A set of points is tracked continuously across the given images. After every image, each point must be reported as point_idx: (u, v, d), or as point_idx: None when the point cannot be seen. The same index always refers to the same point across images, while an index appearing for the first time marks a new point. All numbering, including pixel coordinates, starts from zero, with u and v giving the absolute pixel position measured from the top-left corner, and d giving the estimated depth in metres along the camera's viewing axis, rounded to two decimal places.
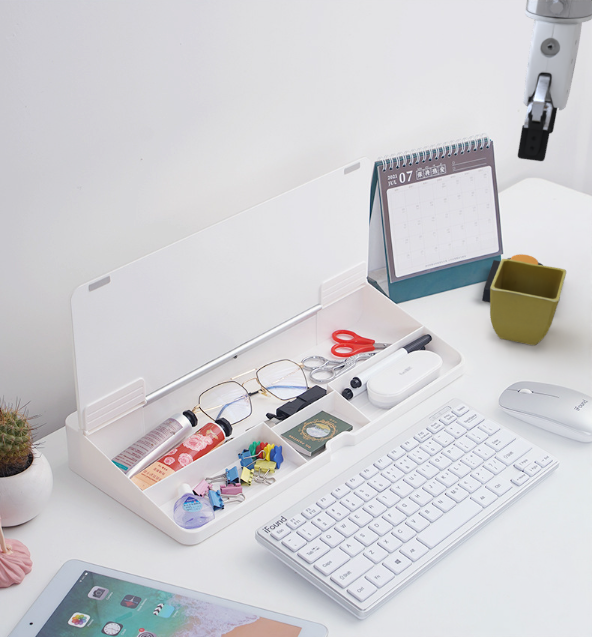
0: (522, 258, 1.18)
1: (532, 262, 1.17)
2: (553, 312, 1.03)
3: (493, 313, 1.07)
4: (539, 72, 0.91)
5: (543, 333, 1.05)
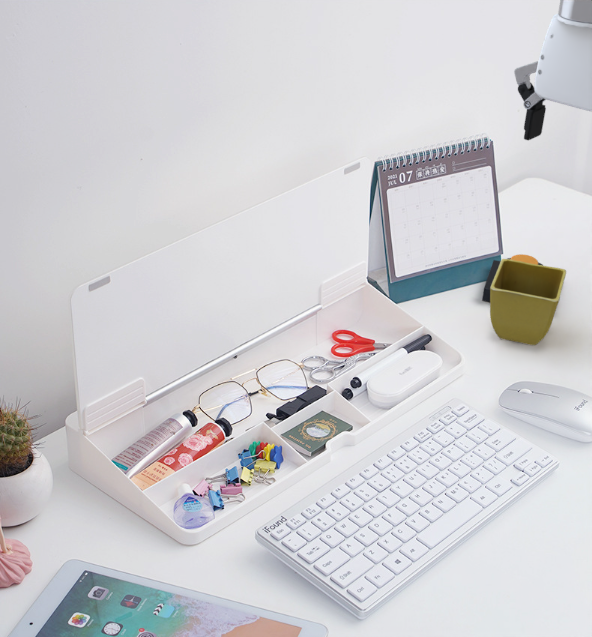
0: (522, 258, 1.18)
1: (532, 262, 1.17)
2: (553, 312, 1.03)
3: (493, 313, 1.07)
4: None
5: (543, 333, 1.05)
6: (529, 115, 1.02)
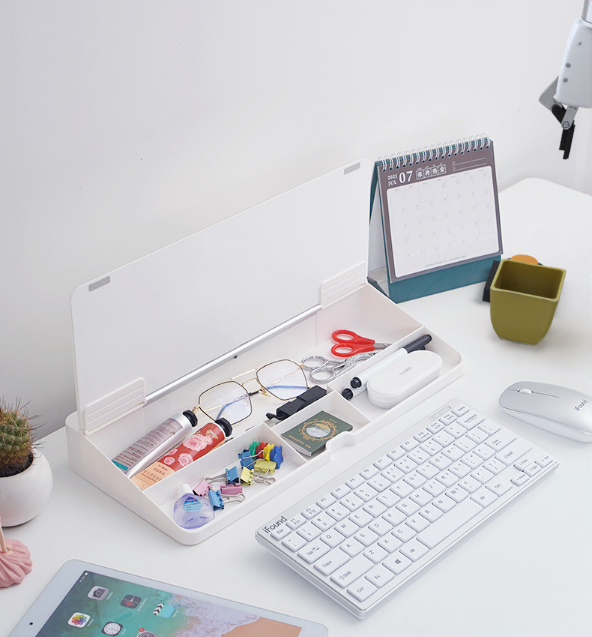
0: (522, 258, 1.18)
1: (532, 262, 1.17)
2: (553, 312, 1.03)
3: (493, 313, 1.07)
4: None
5: (543, 333, 1.05)
6: (569, 135, 1.02)
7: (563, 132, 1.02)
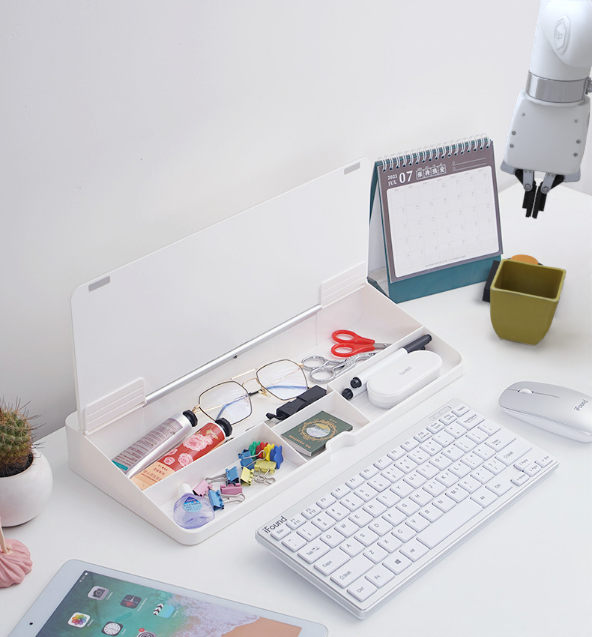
0: (522, 258, 1.18)
1: (532, 262, 1.17)
2: (553, 312, 1.03)
3: (493, 313, 1.07)
4: (585, 142, 1.05)
5: (543, 333, 1.05)
6: (531, 196, 1.10)
7: (525, 193, 1.11)
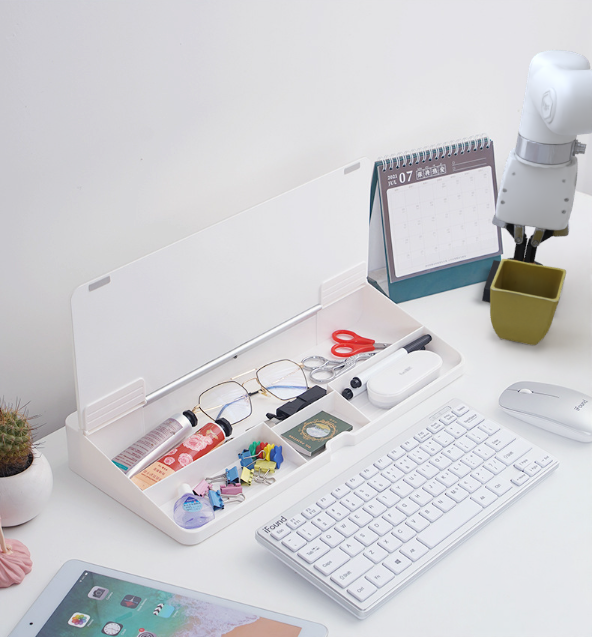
0: None
1: None
2: (553, 312, 1.03)
3: (493, 313, 1.07)
4: (573, 200, 1.09)
5: (543, 333, 1.05)
6: (521, 249, 1.15)
7: (516, 245, 1.16)
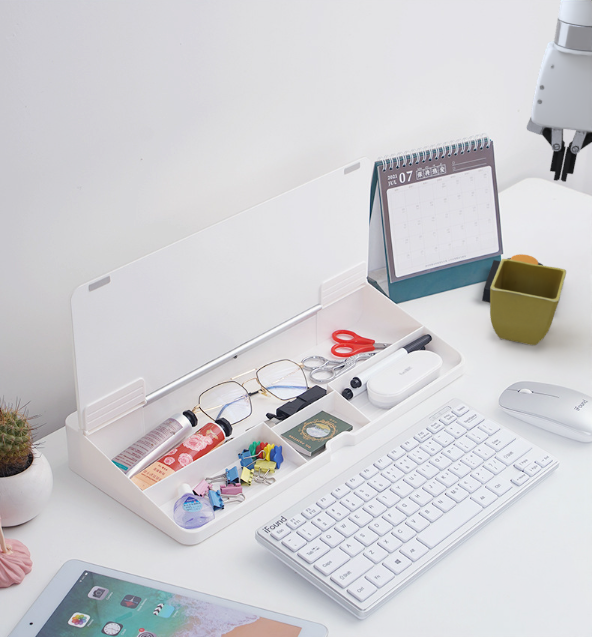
0: (522, 258, 1.18)
1: (532, 262, 1.17)
2: (553, 312, 1.03)
3: (493, 313, 1.07)
4: None
5: (543, 333, 1.05)
6: (560, 157, 1.04)
7: (554, 154, 1.05)
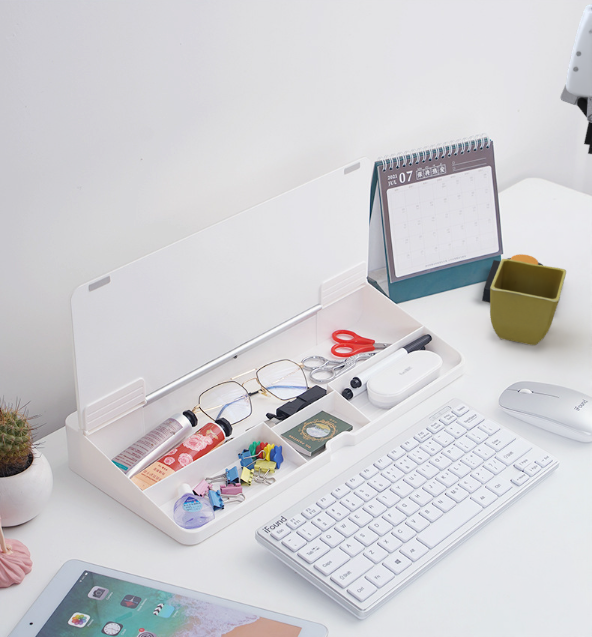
0: (522, 258, 1.18)
1: (532, 262, 1.17)
2: (553, 312, 1.03)
3: (493, 313, 1.07)
4: None
5: (543, 333, 1.05)
6: None
7: (589, 125, 0.99)
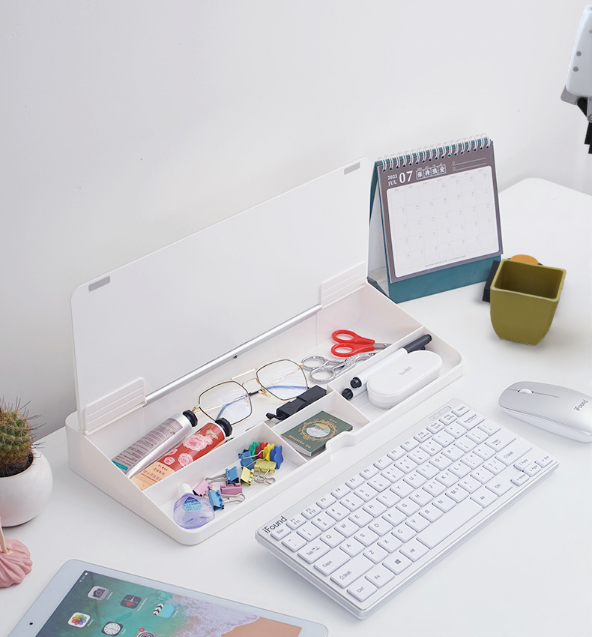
0: (522, 258, 1.18)
1: (532, 262, 1.17)
2: (553, 312, 1.03)
3: (493, 313, 1.07)
4: None
5: (543, 333, 1.05)
6: None
7: (589, 125, 0.99)
